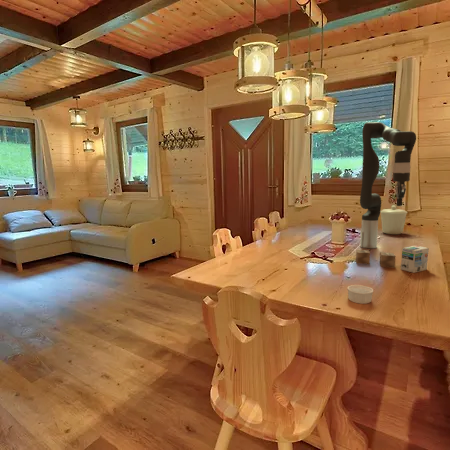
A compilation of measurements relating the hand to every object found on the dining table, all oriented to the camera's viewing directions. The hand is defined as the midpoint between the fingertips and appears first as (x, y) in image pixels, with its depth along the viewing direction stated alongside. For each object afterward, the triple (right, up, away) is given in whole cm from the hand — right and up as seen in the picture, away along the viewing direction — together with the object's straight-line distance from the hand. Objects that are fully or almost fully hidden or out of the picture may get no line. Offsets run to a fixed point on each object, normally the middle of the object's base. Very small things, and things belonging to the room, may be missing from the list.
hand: (399, 205), depth 162 cm
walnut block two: (-18, -30, +2) cm, 35 cm away
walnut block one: (-9, -30, -5) cm, 32 cm away
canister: (+36, -16, +74) cm, 84 cm away
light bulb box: (0, -32, -12) cm, 34 cm away
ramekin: (-40, -38, -45) cm, 71 cm away
